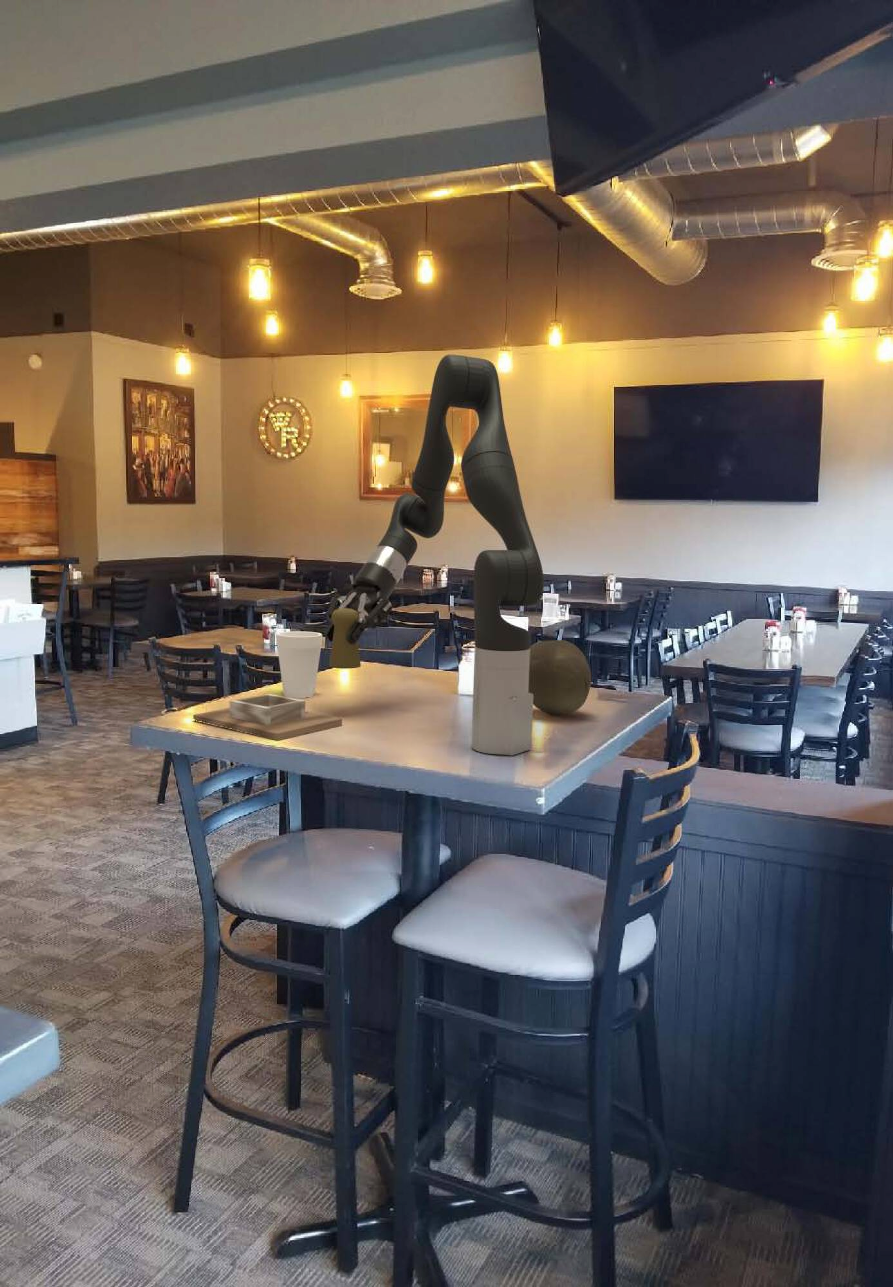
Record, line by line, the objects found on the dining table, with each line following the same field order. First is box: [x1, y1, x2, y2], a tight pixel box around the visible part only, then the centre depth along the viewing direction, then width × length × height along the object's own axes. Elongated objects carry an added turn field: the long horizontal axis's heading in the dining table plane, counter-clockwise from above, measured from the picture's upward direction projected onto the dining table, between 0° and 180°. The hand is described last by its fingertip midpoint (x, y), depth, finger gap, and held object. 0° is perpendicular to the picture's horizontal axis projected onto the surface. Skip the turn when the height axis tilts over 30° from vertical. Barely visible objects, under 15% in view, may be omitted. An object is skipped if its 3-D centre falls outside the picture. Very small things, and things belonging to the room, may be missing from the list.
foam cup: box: [275, 630, 323, 699], centre depth 202 cm, size 10×9×13 cm
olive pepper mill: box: [328, 608, 362, 670], centre depth 183 cm, size 6×6×11 cm
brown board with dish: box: [192, 693, 343, 741], centre depth 176 cm, size 22×16×4 cm
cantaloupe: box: [528, 639, 592, 717], centre depth 189 cm, size 14×14×15 cm
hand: (338, 639), depth 182 cm, fingers closed on olive pepper mill, 5 cm apart
